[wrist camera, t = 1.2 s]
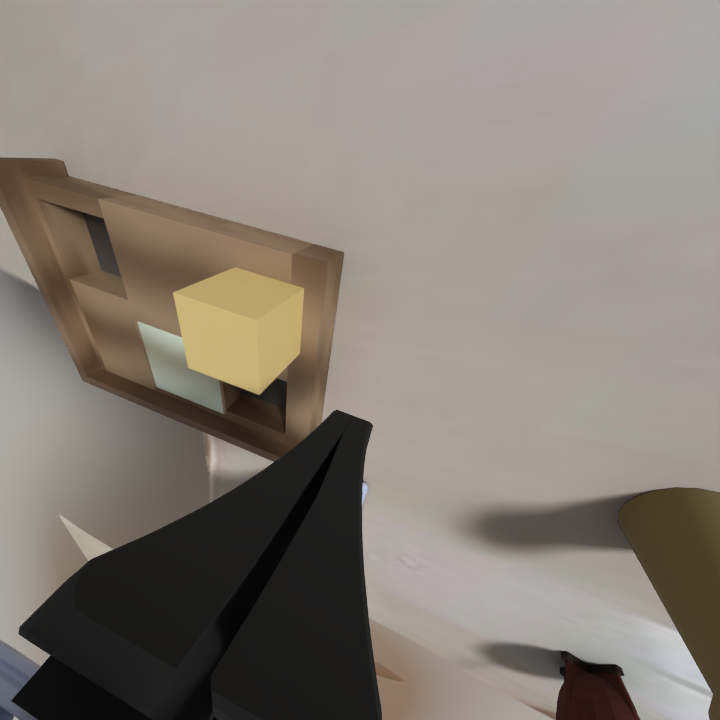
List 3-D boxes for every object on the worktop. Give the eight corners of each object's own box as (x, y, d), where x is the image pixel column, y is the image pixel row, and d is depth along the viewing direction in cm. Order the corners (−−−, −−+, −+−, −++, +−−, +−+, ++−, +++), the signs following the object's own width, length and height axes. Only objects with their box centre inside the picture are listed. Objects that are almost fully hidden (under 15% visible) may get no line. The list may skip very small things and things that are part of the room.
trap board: (319, 436, 25) (297, 471, 22) (123, 358, 28) (82, 380, 25) (346, 236, 16) (315, 252, 13) (53, 158, 19) (-24, 157, 16)
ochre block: (300, 353, 17) (259, 395, 14) (240, 332, 18) (188, 367, 15) (304, 288, 15) (257, 320, 12) (235, 267, 16) (172, 292, 13)
